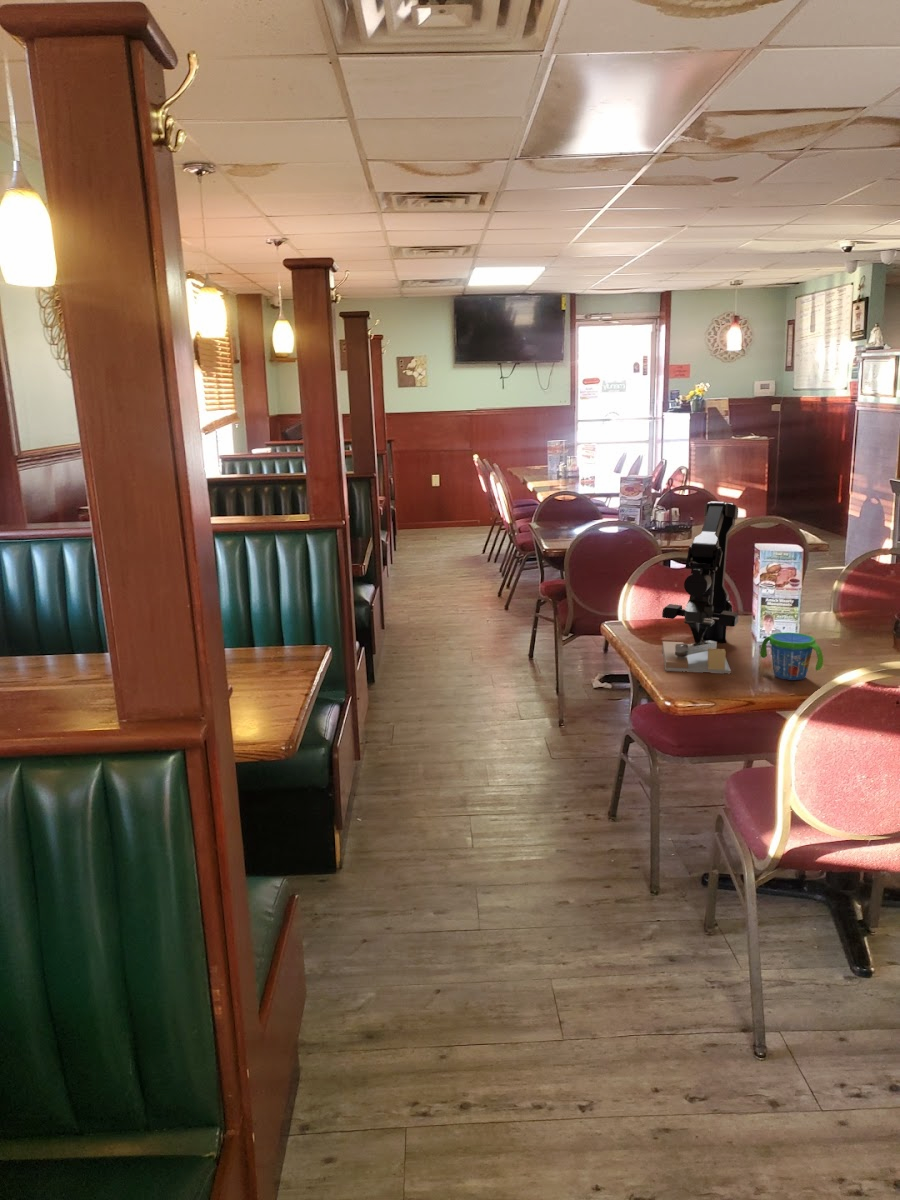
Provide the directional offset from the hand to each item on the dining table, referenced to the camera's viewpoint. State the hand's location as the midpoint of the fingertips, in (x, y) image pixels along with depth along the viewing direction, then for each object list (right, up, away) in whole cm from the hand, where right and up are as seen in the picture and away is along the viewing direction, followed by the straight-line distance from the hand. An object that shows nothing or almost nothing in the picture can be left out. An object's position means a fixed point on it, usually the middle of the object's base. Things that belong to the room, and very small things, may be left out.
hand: (697, 646), depth 225 cm
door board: (-1, -4, 0) cm, 4 cm away
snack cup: (+19, -7, -14) cm, 25 cm away
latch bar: (-2, -1, -3) cm, 4 cm away
